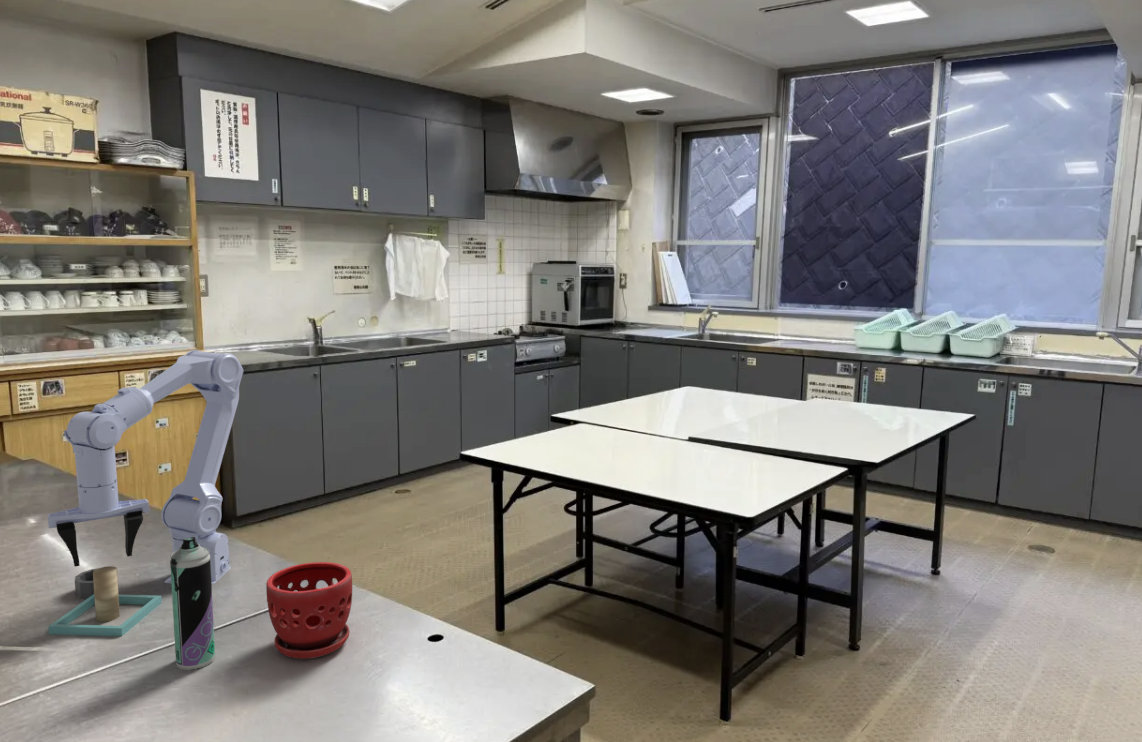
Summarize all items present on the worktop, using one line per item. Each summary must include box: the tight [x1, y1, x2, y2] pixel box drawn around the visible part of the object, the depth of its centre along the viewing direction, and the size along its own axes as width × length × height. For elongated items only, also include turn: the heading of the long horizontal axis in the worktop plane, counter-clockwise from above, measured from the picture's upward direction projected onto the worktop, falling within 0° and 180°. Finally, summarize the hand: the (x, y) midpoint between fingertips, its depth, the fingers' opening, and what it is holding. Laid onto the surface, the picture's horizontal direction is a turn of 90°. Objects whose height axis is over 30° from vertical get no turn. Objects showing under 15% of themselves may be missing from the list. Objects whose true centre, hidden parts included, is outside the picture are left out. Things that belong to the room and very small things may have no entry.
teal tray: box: [47, 594, 163, 637], centre depth 131 cm, size 12×12×2 cm
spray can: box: [169, 537, 216, 671], centre depth 118 cm, size 6×6×20 cm
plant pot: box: [265, 561, 353, 660], centre depth 124 cm, size 13×13×12 cm
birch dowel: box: [93, 565, 121, 623], centre depth 130 cm, size 4×4×8 cm
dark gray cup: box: [74, 567, 119, 600], centre depth 141 cm, size 7×7×4 cm
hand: (103, 559), depth 131 cm, fingers open, 7 cm apart
